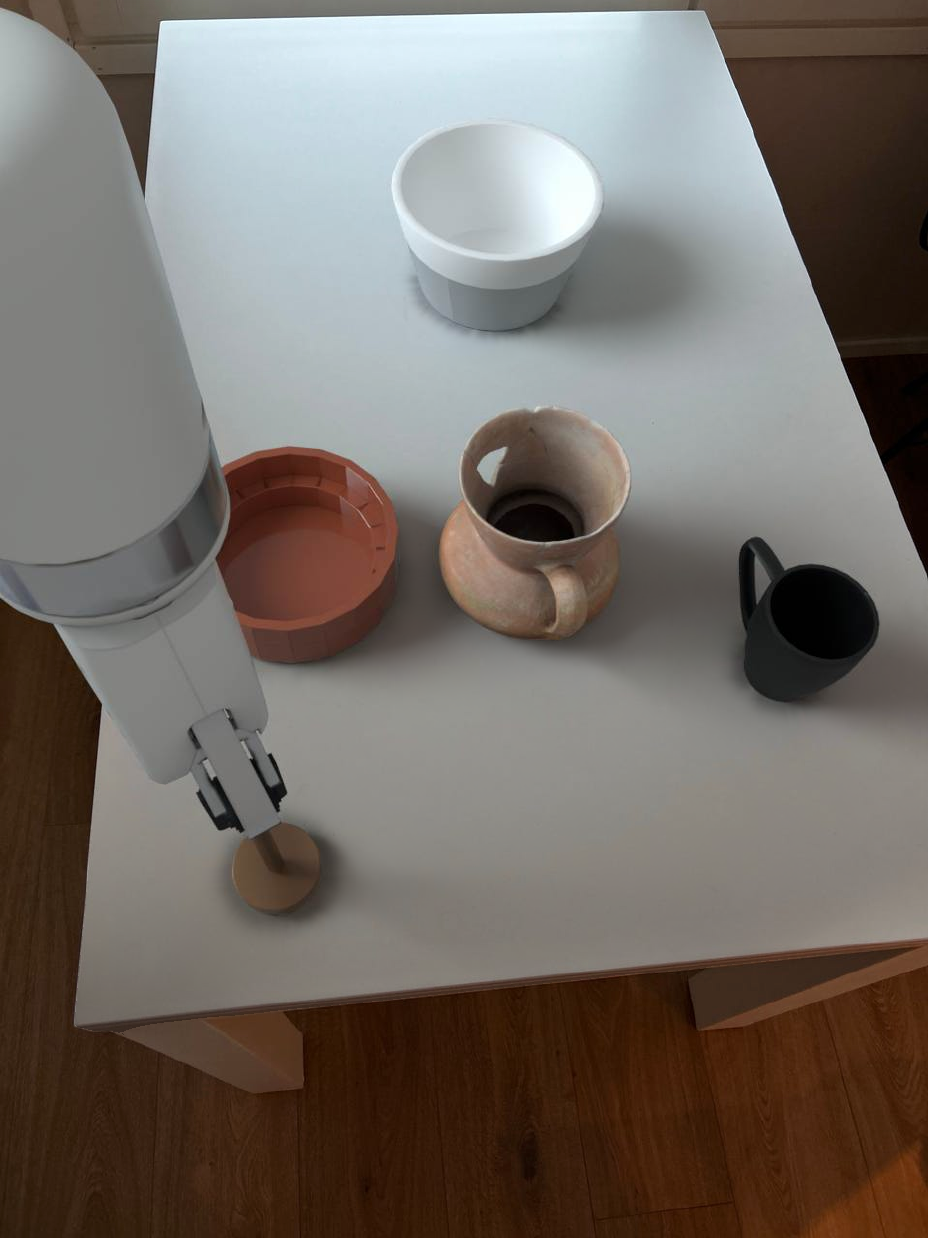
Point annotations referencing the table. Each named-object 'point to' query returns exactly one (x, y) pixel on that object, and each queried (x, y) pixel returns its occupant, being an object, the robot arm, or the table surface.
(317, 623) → the mixing bowl
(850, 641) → the mug
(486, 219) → the bowl
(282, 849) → the wooden dowel plunger
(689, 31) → the table surface
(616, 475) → the ceramic jug
